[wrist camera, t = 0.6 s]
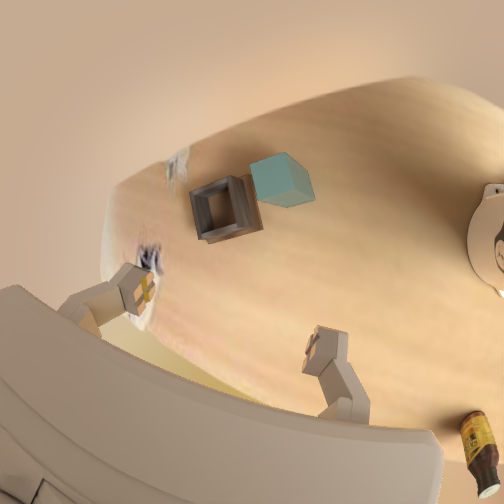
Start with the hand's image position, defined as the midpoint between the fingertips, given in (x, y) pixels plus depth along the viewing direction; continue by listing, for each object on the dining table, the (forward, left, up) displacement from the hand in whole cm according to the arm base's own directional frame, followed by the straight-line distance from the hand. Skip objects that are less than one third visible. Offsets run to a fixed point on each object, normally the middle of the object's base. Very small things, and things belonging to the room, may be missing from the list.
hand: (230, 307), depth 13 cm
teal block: (+3, -11, -33) cm, 35 cm away
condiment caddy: (+16, -12, -33) cm, 39 cm away
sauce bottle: (-25, +39, -33) cm, 57 cm away
